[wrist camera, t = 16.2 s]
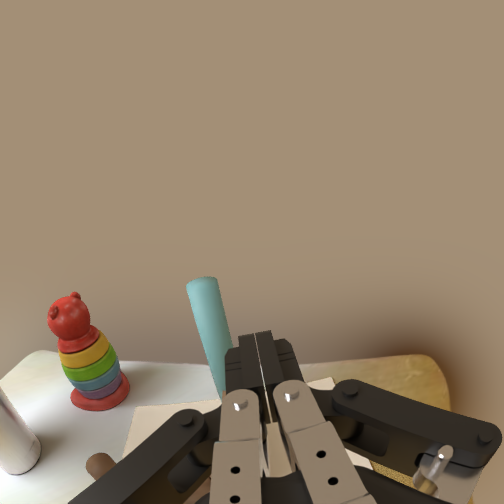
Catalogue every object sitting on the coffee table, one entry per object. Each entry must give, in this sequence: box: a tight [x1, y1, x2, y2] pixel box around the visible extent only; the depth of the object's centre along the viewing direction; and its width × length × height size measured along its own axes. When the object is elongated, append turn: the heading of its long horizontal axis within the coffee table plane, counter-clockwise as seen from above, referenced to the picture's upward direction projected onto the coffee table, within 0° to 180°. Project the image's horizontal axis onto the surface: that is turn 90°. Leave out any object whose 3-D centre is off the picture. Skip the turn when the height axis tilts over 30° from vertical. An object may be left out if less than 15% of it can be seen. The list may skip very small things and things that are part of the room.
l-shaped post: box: [186, 277, 233, 402], centre depth 28 cm, size 12×3×20 cm, turn 2°
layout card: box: [122, 377, 373, 477], centre depth 30 cm, size 29×20×1 cm
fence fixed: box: [86, 453, 211, 504], centre depth 22 cm, size 15×3×8 cm, turn 95°
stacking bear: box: [47, 292, 129, 411], centre depth 40 cm, size 11×10×18 cm
